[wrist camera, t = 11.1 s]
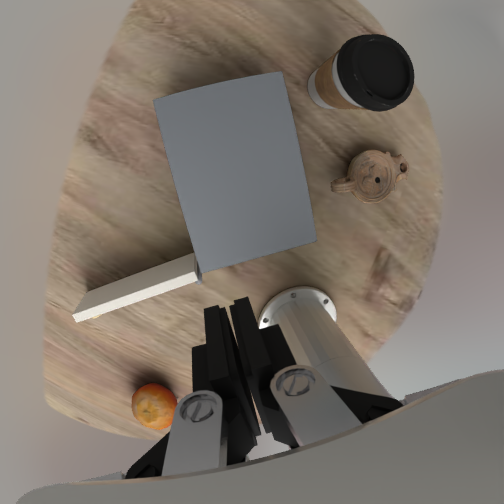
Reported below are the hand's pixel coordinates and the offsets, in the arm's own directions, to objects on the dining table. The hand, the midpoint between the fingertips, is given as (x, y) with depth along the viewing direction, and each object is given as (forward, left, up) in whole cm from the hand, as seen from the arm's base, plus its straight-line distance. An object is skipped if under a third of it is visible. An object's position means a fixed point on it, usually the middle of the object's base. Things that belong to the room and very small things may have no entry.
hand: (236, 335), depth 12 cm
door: (-8, +12, -31) cm, 34 cm away
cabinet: (+3, -4, -31) cm, 32 cm away
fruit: (-29, +18, -31) cm, 46 cm away
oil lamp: (-2, -22, -31) cm, 38 cm away
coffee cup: (+11, -19, -31) cm, 38 cm away
